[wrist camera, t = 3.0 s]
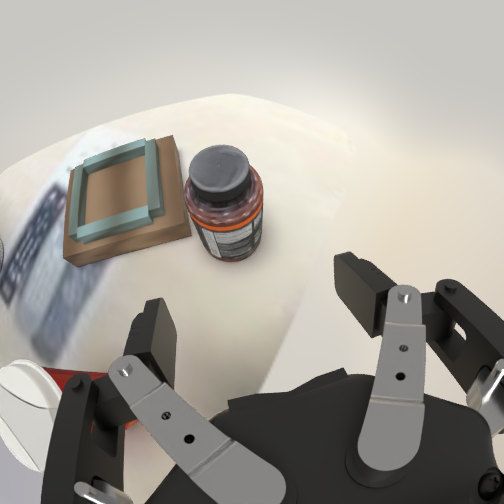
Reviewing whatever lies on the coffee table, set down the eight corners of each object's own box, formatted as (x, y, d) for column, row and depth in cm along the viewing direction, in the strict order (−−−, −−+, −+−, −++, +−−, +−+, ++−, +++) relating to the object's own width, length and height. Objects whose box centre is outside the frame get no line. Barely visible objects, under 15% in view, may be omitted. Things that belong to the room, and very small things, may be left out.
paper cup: (81, 411, 21) (-16, 427, 8) (98, 350, 23) (-5, 334, 10) (143, 448, 20) (62, 503, 7) (164, 384, 23) (77, 407, 9)
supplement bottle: (203, 210, 29) (179, 136, 18) (260, 208, 29) (262, 130, 18) (201, 264, 27) (168, 206, 16) (262, 262, 27) (268, 201, 16)
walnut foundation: (77, 266, 27) (55, 252, 22) (81, 183, 31) (65, 163, 27) (191, 236, 28) (180, 215, 24) (178, 151, 32) (169, 126, 28)
